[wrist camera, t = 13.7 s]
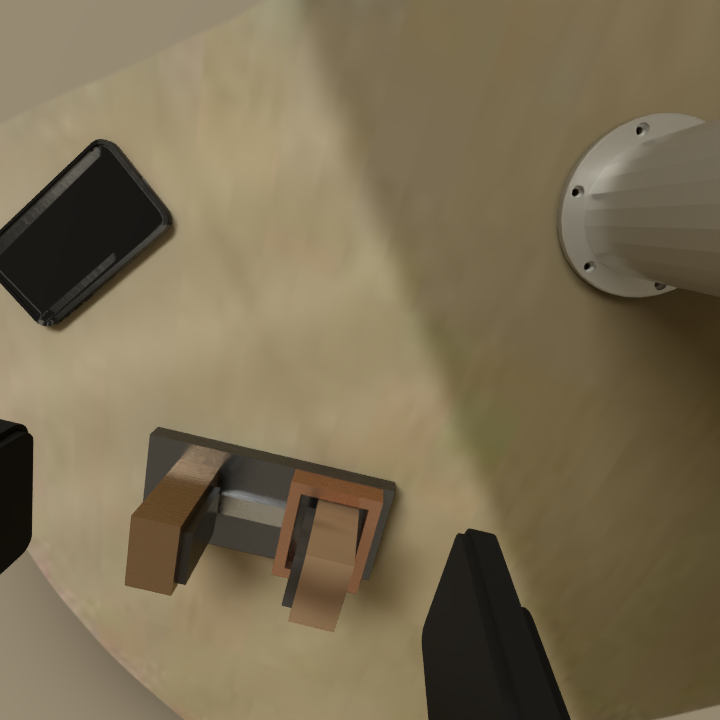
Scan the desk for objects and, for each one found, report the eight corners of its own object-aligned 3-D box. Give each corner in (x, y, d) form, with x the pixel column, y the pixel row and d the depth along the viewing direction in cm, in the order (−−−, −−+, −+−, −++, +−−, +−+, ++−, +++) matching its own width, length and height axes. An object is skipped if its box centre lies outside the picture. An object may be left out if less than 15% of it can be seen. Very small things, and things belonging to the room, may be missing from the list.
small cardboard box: (342, 558, 42) (333, 632, 35) (297, 546, 42) (278, 618, 35) (359, 501, 40) (354, 566, 33) (312, 489, 40) (295, 552, 33)
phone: (-26, 254, 36) (102, 131, 33) (-15, 253, 38) (111, 134, 34) (45, 332, 38) (174, 222, 35) (55, 329, 39) (180, 222, 36)
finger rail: (394, 482, 41) (397, 555, 32) (368, 568, 44) (365, 657, 35) (158, 426, 41) (94, 485, 32) (148, 517, 44) (87, 595, 35)
